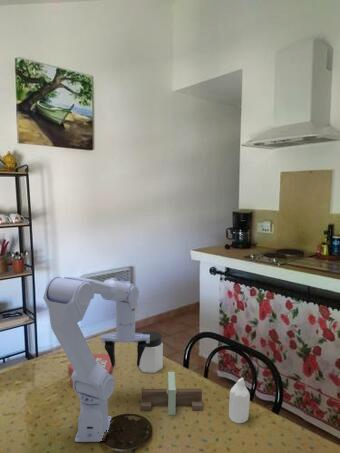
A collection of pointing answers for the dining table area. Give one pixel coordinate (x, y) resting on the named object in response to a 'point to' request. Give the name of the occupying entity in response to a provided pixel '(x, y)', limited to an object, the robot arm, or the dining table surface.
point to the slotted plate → (171, 393)
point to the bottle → (239, 402)
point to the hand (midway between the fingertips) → (125, 364)
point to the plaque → (100, 359)
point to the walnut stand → (161, 398)
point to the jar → (152, 353)
